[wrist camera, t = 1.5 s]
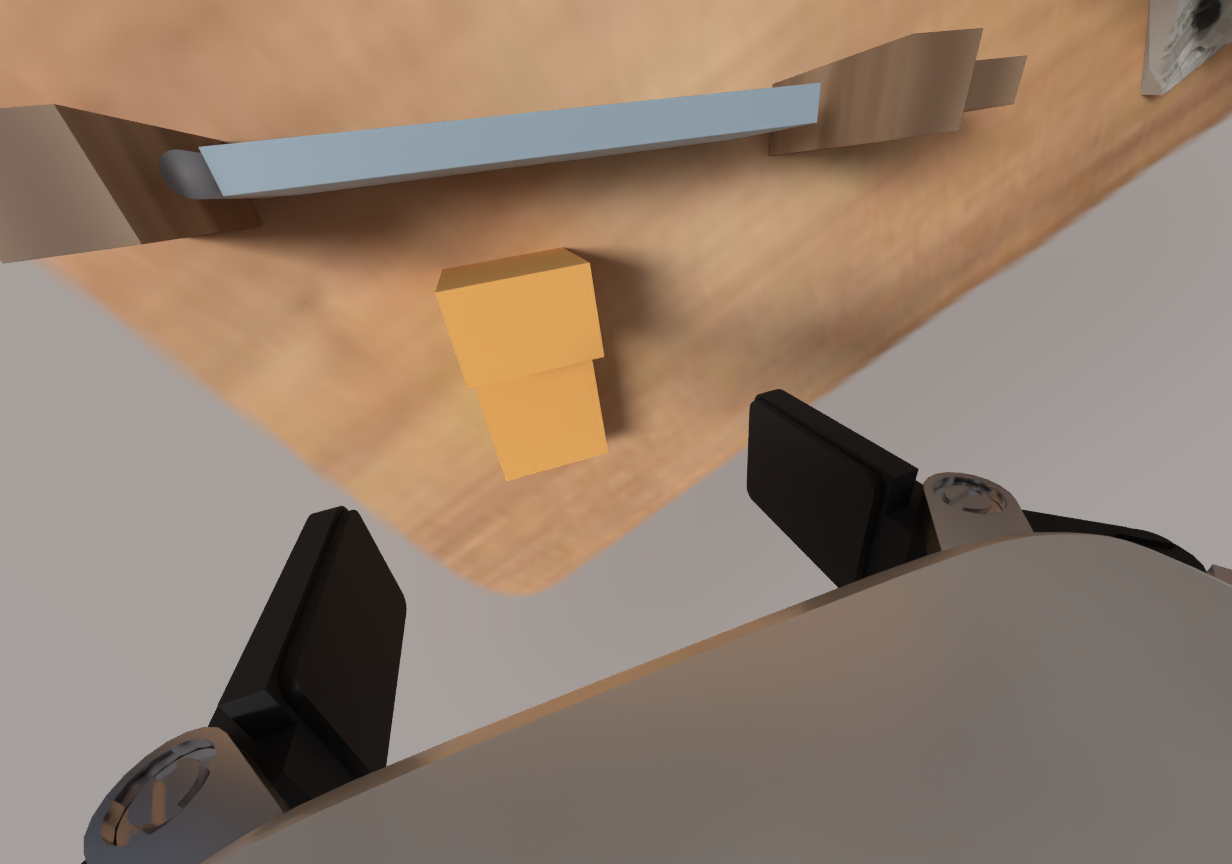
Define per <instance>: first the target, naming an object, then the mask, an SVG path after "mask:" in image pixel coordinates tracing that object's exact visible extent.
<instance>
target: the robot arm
mask: <svg viewBox="0 0 1232 864" xmlns="http://www.w3.org/2000/svg"><path fill="white" fill-rule="evenodd" d="M917 472H918V468H916V467H914V466H913V465H911V464H909V463H907V462H906V461H904V460H902V459H901V458H899V457H897V456H895V455H894V454H892V453H890V452H888V451H887V450H885V449H883V448H882V447H880V446H878V445H876V444H875V443H873V442H871V441H870V440H868V439H866V438H864V437H863V436H861V435H859V434H857V433H856V432H854V431H852V430H851V429H849V428H847V427H845V426H844V425H842V424H840V423H838V422H837V421H835V420H833V419H832V418H830V417H828V416H826V415H825V414H823V413H821V412H820V411H818V410H816V409H814V408H813V407H811V406H809V405H808V404H806V403H804V402H802V401H801V400H799V399H797V398H795V397H794V396H792V395H790V394H789V393H787V392H785V391H783V390H781V389H776V390H773V391H769V392H765V393H762V394H758V395H757V396H756V398H755V400H754V401H753V402H752V403H751V405H750V412H749V438H748V465H747V491H748V493H749V496H750V498H751V499H752V500H753V501H754V502H755V503H756V504H757V505H758V506H759V507H760V508H761V509H762V511H763V512H764V513H765V514H767V516H768V517H769V518H770V519H771V520H772V521H773V522H774V523H775V524H776V525H777V526H778V527H779V528H780V529H781V530H782V531H783V532H784V533H785V534H786V535H787V536H788V537H789V538H790V539H791V540H792V541H793V542H794V543H795V544H796V545H797V546H798V547H799V548H800V549H801V550H802V551H803V552H804V553H805V554H806V555H807V556H808V557H809V558H810V559H811V560H812V561H813V562H814V563H815V564H816V565H817V566H818V567H819V568H820V569H821V571H823V573H825V575H826V576H827V577H829V579H830V580H831V581H832V582H833V583H834V584H835V585H836V586H837V587H838V589H835V590H832V591H830V592H827V593H825V594H822V595H820V596H817V597H814V598H812V599H809V600H806V601H804V602H801V603H798V604H796V605H793V606H791V607H788V608H786V609H783V610H780V611H778V612H775V613H772V614H770V615H767V616H765V617H762V618H759V619H757V620H754V621H752V622H749V623H746V624H744V625H741V626H739V627H736V628H734V629H731V630H728V631H726V632H723V633H721V634H718V635H716V636H713V637H710V638H708V639H705V640H703V641H700V642H698V643H695V644H693V645H690V646H687V647H685V648H682V649H680V650H677V651H674V652H672V653H669V654H667V655H664V656H662V657H659V658H657V659H654V660H651V661H649V662H647V663H644V664H641V665H639V666H636V667H634V668H631V669H629V670H626V671H623V672H621V673H618V674H616V675H613V676H611V677H608V678H605V679H603V680H600V681H598V682H596V683H593V684H590V685H588V686H585V687H583V688H580V689H578V690H575V691H573V692H570V693H568V694H565V695H563V696H560V697H557V698H555V699H552V700H550V701H547V702H545V703H543V704H540V705H537V706H535V707H532V708H530V709H527V710H525V711H522V712H520V713H517V714H515V715H512V716H510V717H507V718H505V719H502V720H500V721H497V722H495V723H492V724H490V725H487V726H485V727H482V728H479V729H477V730H474V731H472V732H469V733H467V734H464V735H462V736H459V737H457V738H455V739H452V740H450V741H447V742H445V743H442V744H440V745H437V746H435V747H433V748H430V749H428V750H426V751H423V752H421V753H419V754H416V755H413V756H411V757H409V758H406V759H404V760H401V761H399V762H396V763H394V764H392V765H389V766H387V767H386V763H387V756H388V748H389V740H390V733H391V725H392V718H393V710H394V702H395V695H396V687H397V680H398V672H399V664H400V657H401V649H402V641H403V634H404V626H405V618H406V602H405V598H404V595H403V593H402V591H401V589H400V588H399V586H398V584H397V582H396V580H395V578H394V577H393V575H392V573H391V571H390V570H389V568H388V566H387V564H386V562H385V560H384V558H383V556H382V555H381V553H380V551H379V549H378V547H377V546H376V544H375V542H374V540H373V538H372V536H371V534H370V532H369V531H368V529H367V527H366V525H365V523H364V522H363V520H362V518H361V516H360V514H359V513H358V512H357V511H356V510H351V511H348V509H346V508H345V507H344V506H339V507H335V508H332V509H328V510H324V511H321V512H317V513H313V514H311V515H310V516H309V517H308V519H307V521H306V523H305V525H304V527H303V529H302V531H301V533H300V535H299V538H298V540H297V542H296V544H295V546H294V548H293V550H292V552H291V554H290V556H289V558H288V560H287V562H286V565H285V567H284V569H283V571H282V573H281V575H280V577H279V579H278V581H277V583H276V585H275V588H274V589H273V592H272V593H271V596H270V598H269V600H268V602H267V604H266V606H265V608H264V610H263V613H262V614H261V616H260V618H259V620H258V623H257V625H256V627H255V629H254V631H253V633H252V635H251V637H250V639H249V641H248V644H247V645H246V647H245V649H244V652H243V654H242V656H241V658H240V660H239V662H238V664H237V666H236V668H235V670H234V672H233V674H232V677H231V678H230V681H229V683H228V685H227V687H226V689H225V691H224V693H223V695H222V697H221V699H220V701H219V703H218V707H217V709H216V711H215V713H214V715H213V717H212V719H211V721H210V723H209V725H208V727H202V728H199V729H195V730H192V731H188V732H186V733H183V734H181V735H179V736H177V737H176V738H173V739H171V740H170V741H168V742H166V743H164V744H163V745H161V746H160V747H159V748H157V749H156V750H154V751H153V752H151V753H150V754H148V755H147V756H146V757H144V758H143V759H142V760H141V761H140V762H139V763H138V764H136V765H135V766H134V767H133V768H132V769H131V770H130V771H129V772H127V773H126V774H125V775H124V776H123V777H122V779H121V780H120V781H119V782H118V783H117V784H116V785H115V786H114V787H113V789H112V790H111V791H110V792H109V793H108V794H107V795H106V797H105V798H104V800H103V801H102V803H101V804H100V806H99V807H98V809H97V810H96V812H95V813H94V815H93V816H92V818H91V821H90V823H89V826H88V828H87V831H86V833H85V836H84V856H85V859H86V860H85V861H84V862H83V863H81V864H1232V570H1231V569H1227V568H1224V567H1221V566H1217V565H1214V564H1213V565H1212V566H1211V567H1210V568H1209V570H1208V571H1206V570H1205V568H1204V566H1203V565H1202V564H1201V563H1200V562H1199V561H1198V560H1197V559H1196V558H1195V557H1194V556H1193V555H1191V554H1190V553H1188V552H1187V551H1185V550H1184V549H1182V548H1181V547H1179V546H1178V545H1176V544H1173V543H1172V542H1171V541H1169V540H1168V539H1166V538H1164V537H1162V536H1159V535H1157V534H1154V533H1151V532H1148V531H1144V530H1139V529H1131V528H1127V527H1123V526H1117V525H1111V524H1104V523H1099V522H1092V521H1087V520H1081V519H1075V518H1068V517H1062V516H1057V515H1051V514H1045V513H1039V512H1032V511H1027V510H1021V508H1020V506H1019V504H1018V503H1017V501H1016V499H1015V498H1014V497H1013V496H1012V494H1011V493H1010V492H1008V491H1007V490H1006V489H1004V488H1003V487H1001V486H1000V485H998V484H996V483H994V482H991V481H989V480H987V479H984V478H981V477H978V476H974V475H969V474H964V473H953V472H946V473H939V474H935V475H932V476H930V477H928V479H926V481H925V482H924V484H923V485H922V484H921V483H919V482H918V481H916V476H917Z"/></svg>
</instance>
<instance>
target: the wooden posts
mask: <svg viewBox="0 0 1232 864" xmlns="http://www.w3.org/2000/svg"><path fill="white" fill-rule="evenodd" d="M982 31H983V28H977V29H965V30H953V31H941V32H928V33H916V34H911V35H909V36H906V37H903V38H900V39H897V40H895V41H892V42H889V43H886V44H884V45H881V46H878V47H875V48H872V49H870V50H867V51H864V52H861V53H858V54H856V55H853V56H850V57H847V58H844V59H842V60H839V61H836V62H833V63H831V64H828V65H825V66H822V67H819V68H817V69H814V70H811V71H808V72H805V73H803V74H800V75H797V76H794V77H792V78H789V79H786V80H783V81H780V82H778V83H775V84H773V88H774V87H783V86H793V85H803V84H812V83H821V87H820V97H819V107H818V117H817V123H812V124H808V125H803V126H798V127H793V128H788V129H783V130H778V131H773V132H770V147H769V156H771V155H779V154H787V153H795V152H803V151H811V150H819V149H827V148H834V147H842V146H850V145H858V144H866V143H874V142H882V141H890V140H897V139H904V138H912V137H919V136H926V135H933V134H941V133H948V132H955V131H959V128H960V123H961V119H962V115H963V112H968V111H974V110H980V109H986V108H992V107H998V106H1004V105H1010V104H1014V101H1015V97H1016V94H1017V90H1018V87H1019V83H1020V80H1021V76H1022V73H1023V69H1024V66H1025V62H1026V58H1027V56H1017V57H1007V58H997V59H987V60H977V61H975V60H976V56H977V52H978V48H979V43H980V39H981V35H982ZM213 145H222V144H221V142H220V140H216V139H211V138H206V137H202V136H197V135H193V134H188V133H184V132H179V131H174V130H170V129H165V128H161V127H156V126H152V125H147V124H142V123H138V122H133V121H129V120H124V119H120V118H115V117H110V116H106V115H101V114H97V113H92V112H87V111H83V110H78V109H74V108H69V107H65V106H60V105H55V104H49V105H37V106H24V107H12V108H0V260H1V261H2V263H11V262H18V261H25V260H32V259H40V258H47V257H54V256H61V255H68V254H76V253H83V252H90V251H97V250H104V249H112V248H119V247H126V246H133V245H140V244H147V243H154V242H160V241H166V240H173V239H179V238H186V237H192V236H199V235H205V234H212V233H218V232H225V231H231V230H238V229H244V228H251V227H257V226H261V224H260V222H259V220H258V218H257V215H256V213H255V211H254V209H253V207H252V205H251V203H250V201H249V199H248V198H242V199H190V198H186V197H184V196H182V195H180V194H178V193H176V192H175V191H173V190H172V189H171V188H170V187H169V186H168V185H167V184H166V183H165V181H164V180H163V178H162V176H161V174H160V172H159V166H158V164H159V159H160V157H161V156H162V154H164V153H165V152H167V151H169V150H176V149H177V150H185V151H191V152H197V153H201V151H200V149H199V148H198V147H203V146H213Z"/></svg>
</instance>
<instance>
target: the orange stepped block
mask: <svg viewBox="0 0 1232 864" xmlns="http://www.w3.org/2000/svg"><path fill="white" fill-rule="evenodd" d="M435 294H436V297H437V300H438V303H439V306H440V309H441V312H442V315H443V317H444V320H445V323H446V326H447V329H448V332H449V335H450V338H451V341H452V344H453V347H454V350H455V353H456V356H457V358H458V361H459V364H460V367H461V370H462V373H463V376H464V379H465V382H466V385H467V388H468V389H471V388H476V391H477V394H478V397H479V400H480V403H481V406H482V409H483V412H484V415H485V418H486V421H487V424H488V427H489V431H490V434H491V437H492V440H493V443H494V446H495V449H496V452H497V455H498V458H499V461H500V464H501V467H502V470H503V473H504V476H505V479H506V481H509V480H512V479H516V478H520V477H523V476H527V475H530V474H534V473H537V472H541V471H545V470H548V469H552V468H555V467H559V466H562V465H566V464H570V463H573V462H577V461H580V460H584V459H587V458H591V457H595V456H598V455H602V454H605V453H608V449H607V443H606V437H605V431H604V425H603V420H602V414H601V408H600V402H599V396H598V390H597V384H596V379H595V373H594V367H593V361H592V360H593V359H598V358H602V357H604V351H603V345H602V338H601V332H600V325H599V319H598V312H597V306H596V300H595V293H594V287H593V280H592V274H591V267H590V262H588V261H586V260H584V259H583V258H581V257H579V256H577V255H575V254H574V253H572V252H570V251H568V250H567V249H565V248H563V247H562V248H557V249H552V250H546V251H541V252H535V253H530V254H525V255H519V256H514V257H508V258H503V259H498V260H492V261H487V262H481V263H476V264H471V265H465V266H460V267H454V268H449V269H444V270H442V273H441V276H440V279H439V282H438V285H437V288H436V291H435Z"/></svg>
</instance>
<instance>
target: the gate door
mask: <svg viewBox="0 0 1232 864" xmlns="http://www.w3.org/2000/svg"><path fill="white" fill-rule="evenodd" d="M820 87H821V83H812V84H803V85H793V86H783V87H774V88H764V89H754V90H745V91H735V92H725V93H716V94H706V95H696V96H687V97H677V98H667V99H658V100H648V101H638V102H629V103H619V104H609V105H600V106H590V107H580V108H571V109H561V110H551V111H542V112H532V113H522V114H513V115H503V116H493V117H484V118H474V119H464V120H455V121H445V122H435V123H426V124H416V125H406V126H397V127H387V128H377V129H368V130H358V131H348V132H339V133H329V134H319V135H310V136H300V137H290V138H281V139H271V140H261V141H252V142H242V143H232V144H223V145H213V146H203V147H198V148H199V149H200V151H201V153H197V152H191V151H185V150H177V149H176V150H169V151H167V152H165V153H164V154H162V156H161V157H160V159H159V164H158V166H159V172H160V174H161V176H162V178H163V180H164V181H165V183H166V184H167V185H168V186H169V187H170V188H171V189H172V190H173V191H175V192H176V193H178V194H180V195H182V196H184V197H186V198H190V199H242V198H278V197H281V196H294V195H302V194H310V193H318V192H326V191H334V190H341V189H349V188H357V187H365V186H373V185H381V184H389V183H396V182H404V181H412V180H420V179H428V178H436V177H444V176H451V175H459V174H467V173H475V172H483V171H491V170H498V169H506V168H514V167H522V166H530V165H538V164H546V163H553V162H561V161H569V160H577V159H585V158H593V157H600V156H608V155H616V154H624V153H632V152H640V151H648V150H655V149H663V148H671V147H679V146H687V145H695V144H703V143H710V142H718V141H726V140H734V139H739V138H744V137H749V136H754V135H759V134H764V133H768V132H773V131H778V130H783V129H788V128H793V127H798V126H803V125H808V124H812V123H817V117H818V107H819V97H820Z"/></svg>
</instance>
